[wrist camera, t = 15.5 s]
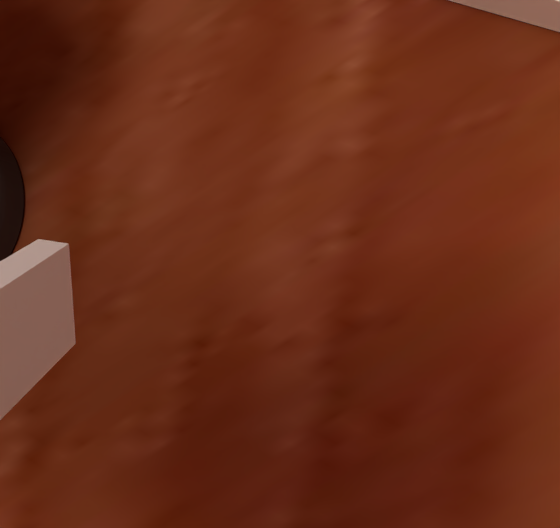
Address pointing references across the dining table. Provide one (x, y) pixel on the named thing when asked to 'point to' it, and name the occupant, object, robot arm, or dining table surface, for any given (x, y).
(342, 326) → the dining table surface
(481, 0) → the cream tray
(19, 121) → the dining table surface
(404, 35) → the dining table surface
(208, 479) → the dining table surface
